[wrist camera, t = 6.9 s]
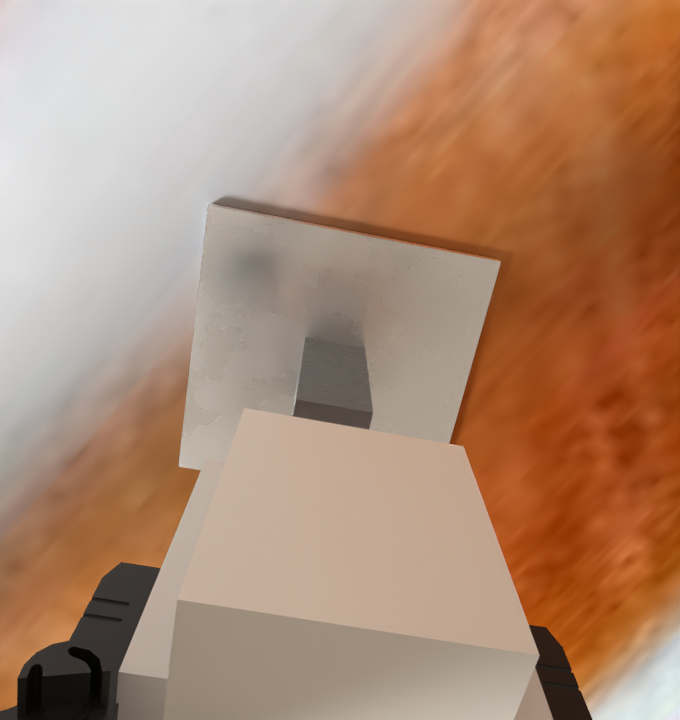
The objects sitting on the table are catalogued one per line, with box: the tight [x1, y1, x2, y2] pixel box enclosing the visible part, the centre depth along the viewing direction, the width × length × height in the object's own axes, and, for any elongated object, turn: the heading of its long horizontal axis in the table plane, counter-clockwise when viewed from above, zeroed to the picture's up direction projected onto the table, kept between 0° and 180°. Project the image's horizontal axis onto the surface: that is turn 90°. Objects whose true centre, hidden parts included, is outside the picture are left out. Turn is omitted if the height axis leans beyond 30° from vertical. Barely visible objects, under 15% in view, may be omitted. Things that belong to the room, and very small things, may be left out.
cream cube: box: [164, 408, 540, 720], centre depth 13 cm, size 6×6×7 cm
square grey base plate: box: [178, 204, 501, 470], centre depth 24 cm, size 12×12×7 cm
